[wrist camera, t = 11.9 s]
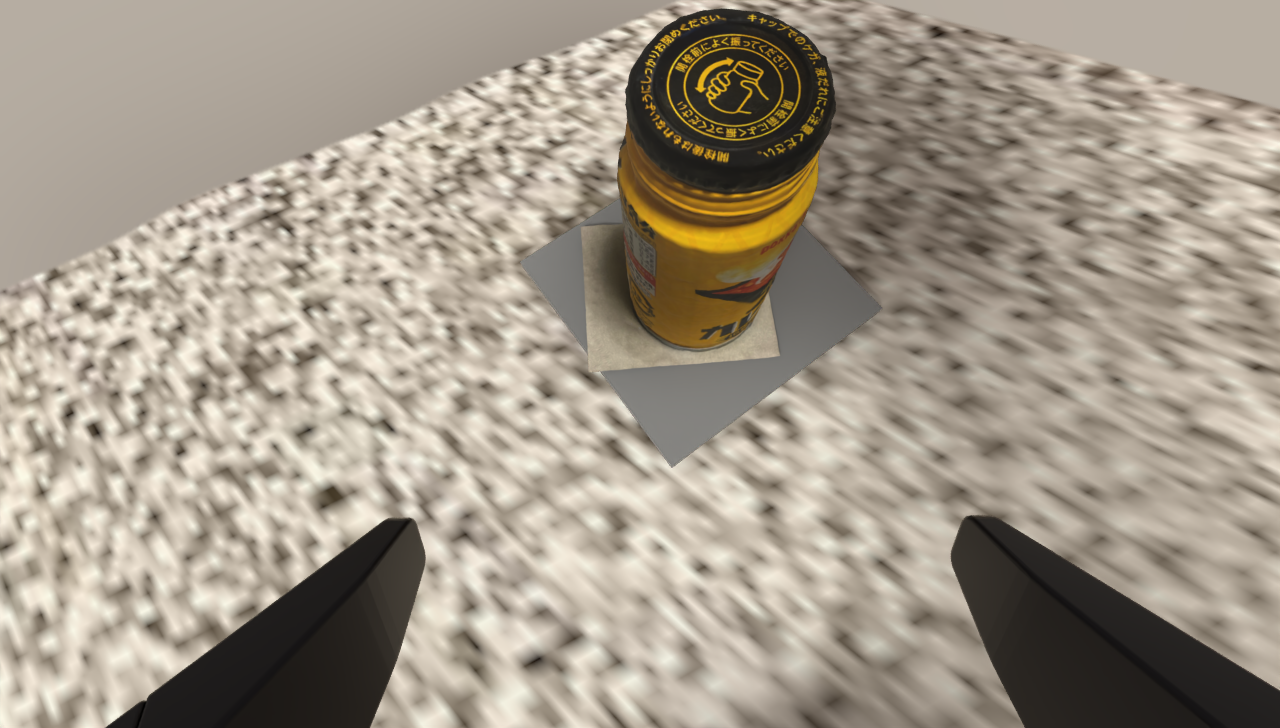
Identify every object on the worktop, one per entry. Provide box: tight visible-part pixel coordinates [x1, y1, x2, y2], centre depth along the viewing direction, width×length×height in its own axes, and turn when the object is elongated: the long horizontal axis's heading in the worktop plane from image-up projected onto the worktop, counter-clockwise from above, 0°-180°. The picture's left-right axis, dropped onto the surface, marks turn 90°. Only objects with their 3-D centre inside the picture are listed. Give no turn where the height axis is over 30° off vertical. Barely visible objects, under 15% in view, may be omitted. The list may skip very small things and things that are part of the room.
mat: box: [521, 198, 882, 468], centre depth 24 cm, size 12×12×1 cm
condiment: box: [581, 9, 836, 372], centre depth 18 cm, size 7×8×12 cm
